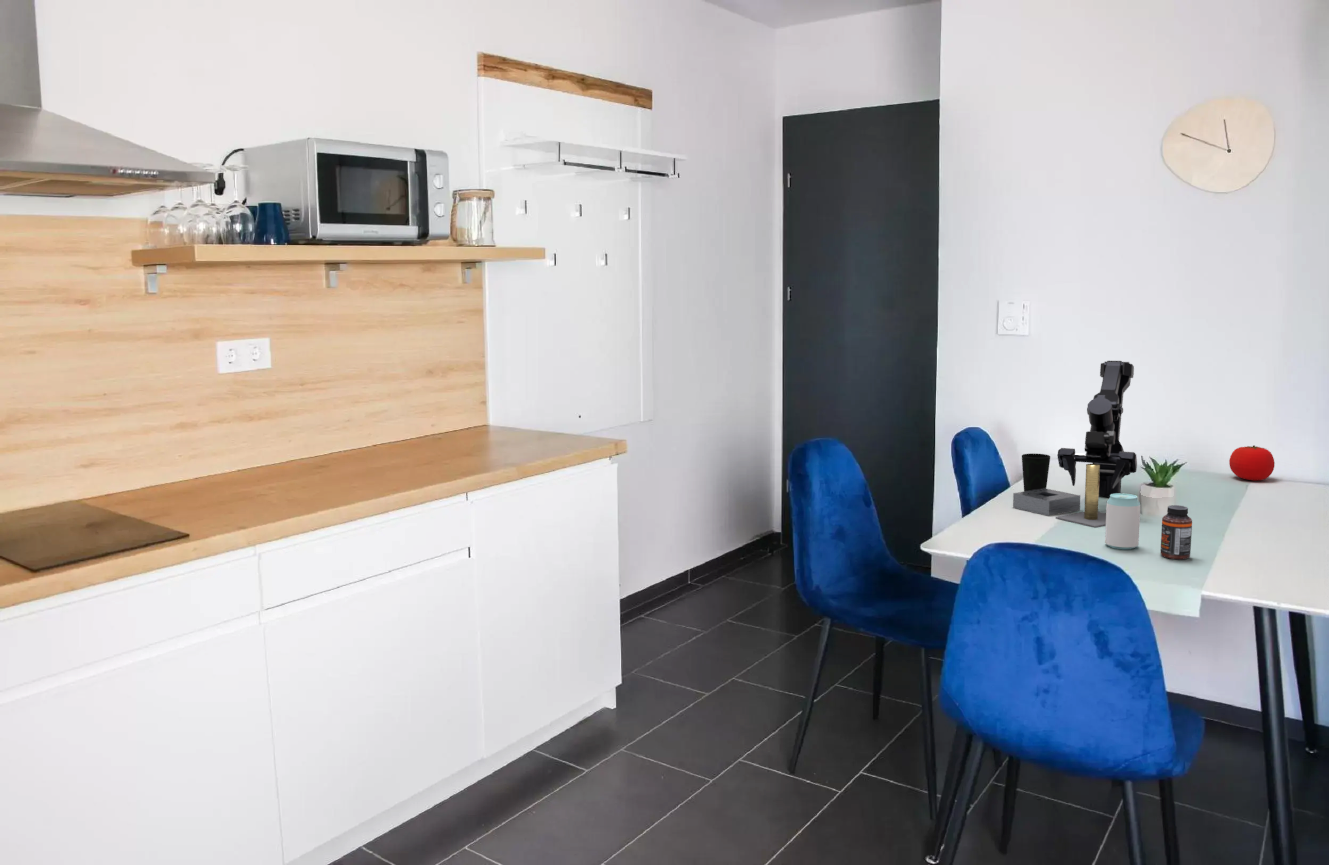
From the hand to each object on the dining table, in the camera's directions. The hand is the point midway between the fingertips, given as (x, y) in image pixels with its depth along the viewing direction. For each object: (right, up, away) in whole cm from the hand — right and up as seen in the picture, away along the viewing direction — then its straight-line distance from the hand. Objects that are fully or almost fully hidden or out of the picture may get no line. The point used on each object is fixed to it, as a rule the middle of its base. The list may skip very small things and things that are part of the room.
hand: (1092, 486), depth 255 cm
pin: (0, -8, +1) cm, 8 cm away
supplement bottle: (+4, -14, -34) cm, 37 cm away
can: (-4, -13, -25) cm, 28 cm away
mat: (+1, -9, +1) cm, 9 cm away
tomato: (+68, -1, +47) cm, 82 cm away
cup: (-4, -5, +29) cm, 30 cm away
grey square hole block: (-6, -7, +14) cm, 17 cm away
